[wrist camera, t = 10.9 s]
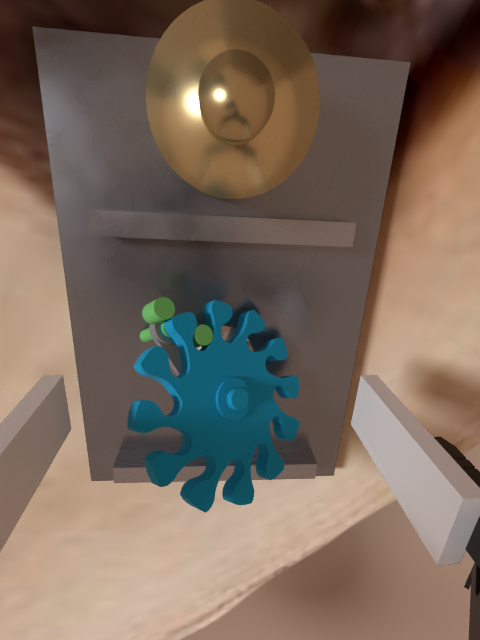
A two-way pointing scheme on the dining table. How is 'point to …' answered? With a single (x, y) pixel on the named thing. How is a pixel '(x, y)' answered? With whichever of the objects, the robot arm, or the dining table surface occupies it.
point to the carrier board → (216, 210)
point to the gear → (213, 400)
